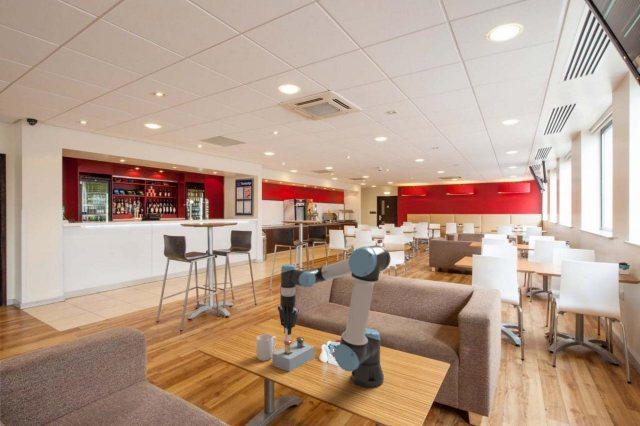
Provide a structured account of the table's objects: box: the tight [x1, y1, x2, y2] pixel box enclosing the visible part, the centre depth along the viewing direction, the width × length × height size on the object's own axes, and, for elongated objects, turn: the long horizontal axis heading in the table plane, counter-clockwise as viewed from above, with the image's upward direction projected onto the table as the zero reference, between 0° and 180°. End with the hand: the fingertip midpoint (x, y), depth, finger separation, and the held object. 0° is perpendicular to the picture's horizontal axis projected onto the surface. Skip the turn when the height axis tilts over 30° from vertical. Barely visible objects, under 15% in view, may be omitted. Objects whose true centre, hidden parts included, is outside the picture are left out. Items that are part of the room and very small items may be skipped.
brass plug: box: [283, 339, 293, 355], centre depth 165 cm, size 4×4×9 cm
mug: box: [256, 333, 278, 362], centre depth 174 cm, size 12×9×11 cm
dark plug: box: [295, 336, 305, 349], centre depth 173 cm, size 4×4×9 cm
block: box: [271, 341, 315, 372], centre depth 169 cm, size 12×20×6 cm, turn 144°
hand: (287, 340), depth 165 cm, fingers closed
